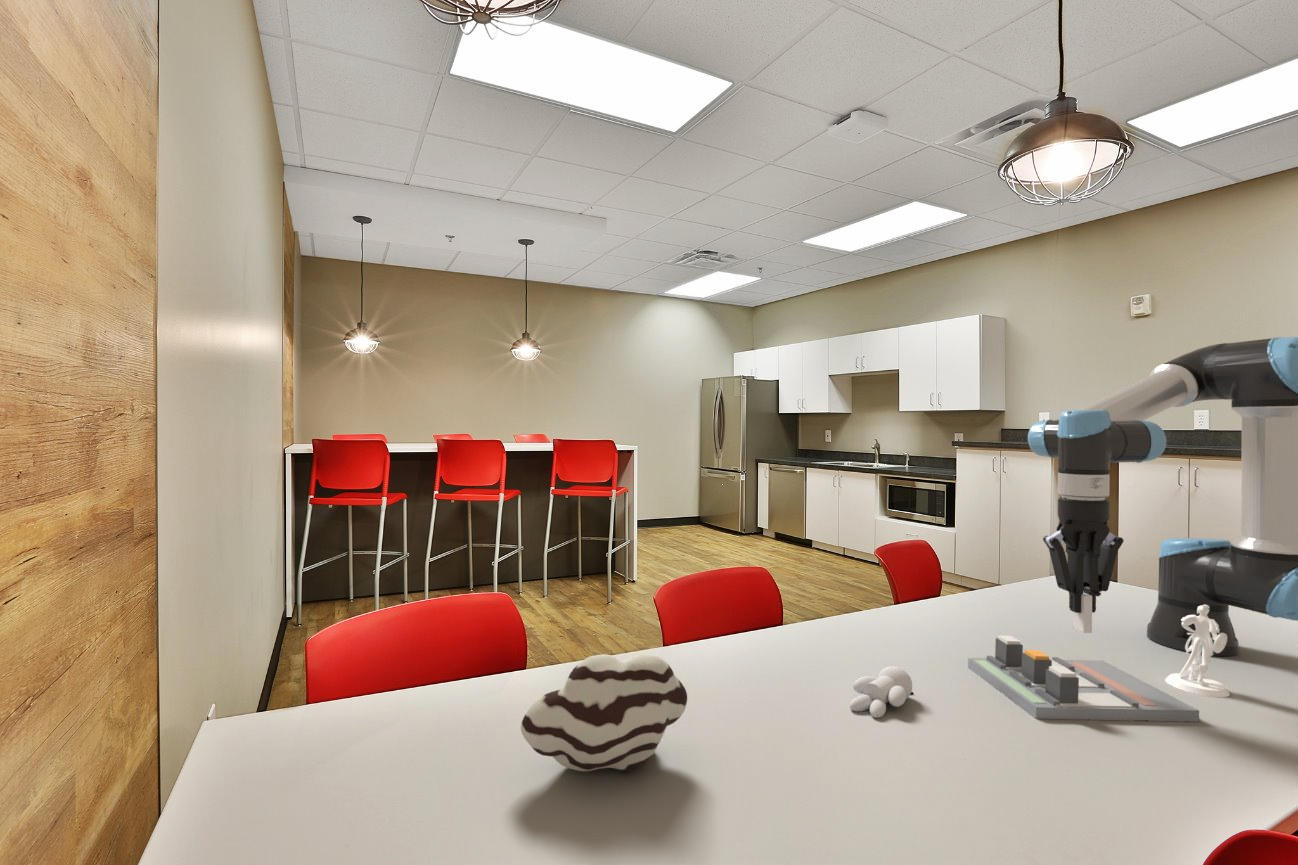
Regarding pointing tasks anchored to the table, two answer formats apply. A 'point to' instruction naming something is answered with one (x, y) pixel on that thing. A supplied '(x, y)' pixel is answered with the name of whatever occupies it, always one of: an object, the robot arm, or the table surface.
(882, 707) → the toy
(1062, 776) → the table surface
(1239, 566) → the robot arm
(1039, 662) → the breaker mid
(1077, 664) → the panel
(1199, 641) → the figurine
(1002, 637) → the breaker left
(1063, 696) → the block
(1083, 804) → the table surface
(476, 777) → the table surface
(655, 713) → the sculpture
